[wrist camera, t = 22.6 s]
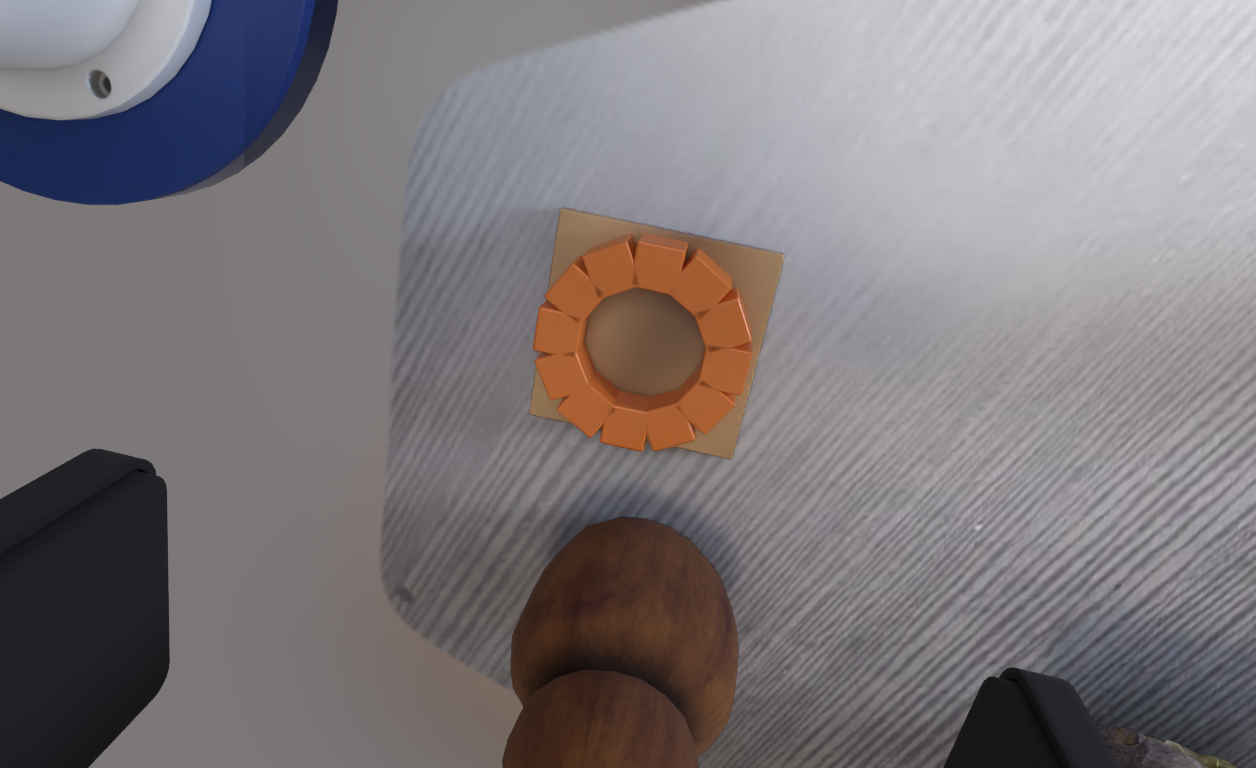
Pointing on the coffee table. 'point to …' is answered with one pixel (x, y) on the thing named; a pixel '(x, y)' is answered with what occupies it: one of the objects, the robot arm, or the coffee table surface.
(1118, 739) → the rock
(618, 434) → the ring
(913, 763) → the coffee table surface
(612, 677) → the wooden figurine
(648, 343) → the coaster
